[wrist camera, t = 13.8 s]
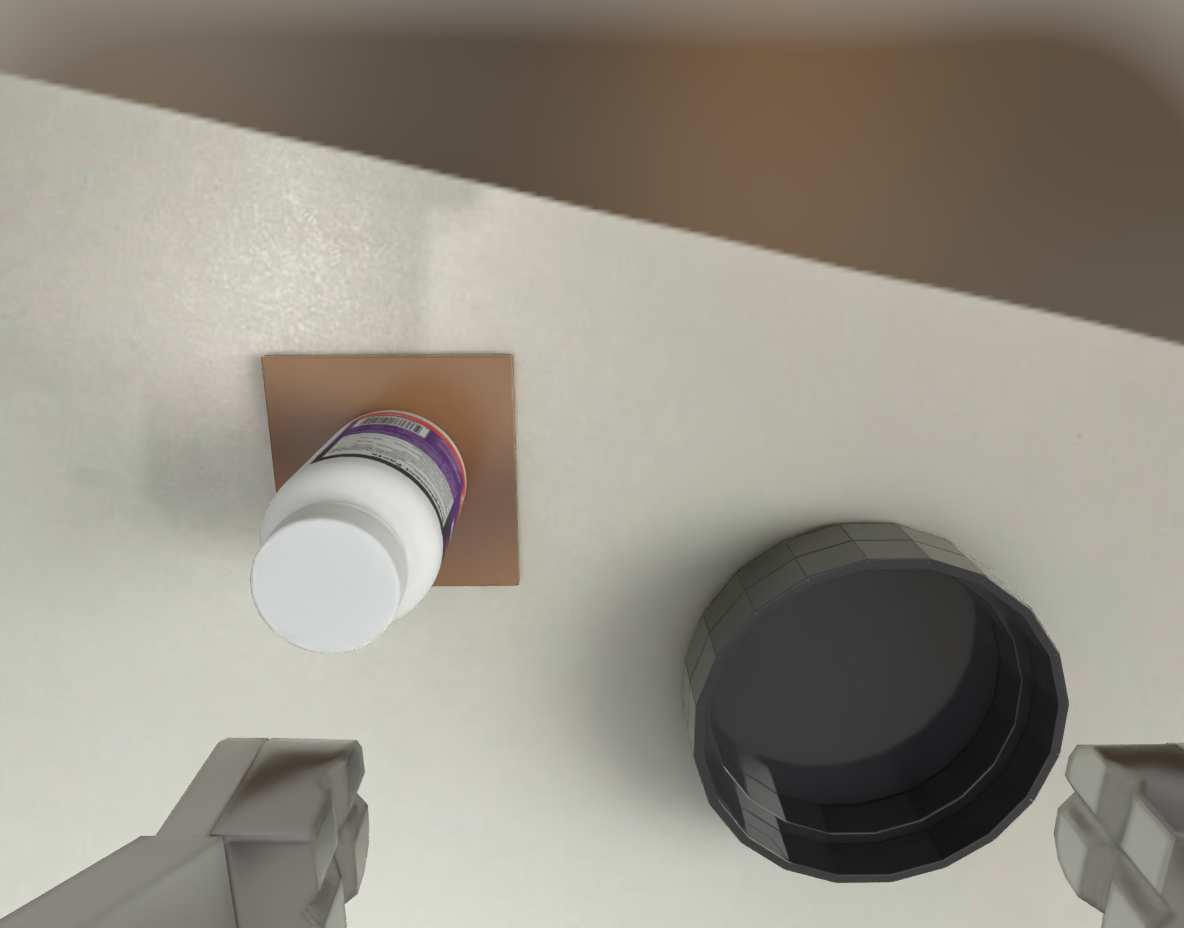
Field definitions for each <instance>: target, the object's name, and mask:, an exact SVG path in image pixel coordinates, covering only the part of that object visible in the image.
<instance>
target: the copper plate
mask: <svg viewBox="0 0 1184 928" xmlns="http://www.w3.org/2000/svg"><path fill="white" fill-rule="evenodd" d="M261 361H262V370H263V379H264V388H265V397H266V405H267V414H268V423H269V432H270V441H271V450H272V459H273V468H274V477H275V485H276V493H277V492H278V491H279V489H280V488H281V487H282V486H283V485H284V484H285V482H286V481H287V480H288V479H290V478H291V477H292V476H293V475H294V474H295V473H296V472H297V471H298V470H299V469H300V468H301V467H302V466H303V465H304V464H305V463H306V462H307V461H308V460H309V459H310V458H311V457H312V456H313V455H314V454H315V453H316V452H317V451H318V450H320V449H321V448H322V447H323V446H324V445H325V444H326V443H327V442H328V441H329V440H330V439H331V438H332V437H333V436H334V435H335V434H336V433H337V432H338V431H339V430H340V429H341V428H343V427H344V426H345V425H346V424H348V423H349V422H351V421H352V420H354V419H356V418H358V417H360V416H363V415H365V414H368V413H372V412H376V411H383V410H399V411H405V412H409V413H413V414H416V415H418V416H421V417H423V418H425V419H427V420H429V421H431V422H432V423H434V424H435V425H437V426H438V427H439V428H440V429H442V430H443V431H444V432H445V433H446V434H447V435H448V436H449V437H450V439H451V440H452V441H453V443H454V444H455V446H456V447H457V449H458V451H459V453H460V455H461V458H462V460H463V463H464V467H465V472H466V494H465V498H464V502H463V506H462V509H461V512H460V515H459V517H458V520H457V522H456V525H455V528H454V530H453V533H452V535H451V538H450V541H449V544H448V547H447V550H446V552H445V556H444V559H443V561H442V564H441V567H440V570H439V572H438V575H437V577H436V579H435V581H434V583H433V585H432V586H508V585H519V547H518V511H517V475H516V440H515V404H514V368H513V355H512V354H455V355H266V356H264V357H262V358H261Z"/></svg>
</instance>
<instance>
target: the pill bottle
mask: <svg viewBox="0 0 1184 928" xmlns="http://www.w3.org/2000/svg"><path fill="white" fill-rule="evenodd" d="M465 494H466V472H465V467H464V463H463V460H462V458H461V455H460V453H459V451H458V449H457V447H456V446H455V444H454V443H453V441H452V440H451V439H450V437H449V436H448V435H447V434H446V433H445V432H444V431H443V430H442V429H440V428H439V427H438V426H437V425H435V424H434V423H432V422H431V421H429V420H427V419H425V418H423V417H421V416H418V415H416V414H413V413H409V412H405V411H399V410H383V411H376V412H372V413H368V414H365V415H363V416H360V417H358V418H356V419H354V420H352V421H351V422H349V423H348V424H346V425H345V426H344V427H343V428H341V429H340V430H339V431H338V432H337V433H336V434H335V435H334V436H333V437H332V438H331V439H330V440H329V441H328V442H327V443H326V444H325V445H324V446H323V447H322V448H321V449H320V450H318V451H317V452H316V453H315V454H314V455H313V456H312V457H311V458H310V459H309V460H308V461H307V462H306V463H305V464H304V465H303V466H302V467H301V468H300V469H299V470H298V471H297V472H296V473H295V474H294V475H293V476H292V477H291V478H290V479H288V480H287V481H286V482H285V484H284V485H283V486H282V487H281V488H280V489H279V491H278V492H277V493H276V494H275V496H274V497H273V499H272V500H271V502H270V504H269V506H268V508H267V510H266V512H265V515H264V518H263V521H262V525H261V532H260V549H259V550H258V552H257V554H256V556H255V559H254V562H253V565H252V569H251V577H250V582H251V593H252V597H253V600H254V603H255V606H256V608H257V610H258V612H259V614H260V616H261V617H262V619H263V620H264V621H265V622H266V624H267V625H268V626H269V627H270V628H271V629H272V630H273V631H274V632H275V633H276V634H277V635H278V636H279V637H281V638H282V639H284V640H286V641H287V642H289V643H290V644H292V645H294V646H297V647H299V648H302V649H305V650H308V651H313V652H318V653H329V654H330V653H343V652H348V651H351V650H355V649H358V648H360V647H362V646H364V645H366V644H368V643H370V642H372V641H373V640H374V639H376V638H377V637H378V636H379V635H380V634H382V633H383V632H384V631H385V629H386V628H387V627H388V626H389V624H390V623H391V622H393V621H395V620H397V619H399V618H400V617H402V616H404V615H405V614H407V613H408V612H409V611H411V610H412V609H413V608H414V607H415V606H416V605H417V604H418V603H419V602H420V601H421V600H422V599H423V598H424V597H425V595H426V594H427V593H428V591H429V590H430V588H431V586H432V585H433V583H434V581H435V579H436V577H437V575H438V572H439V570H440V567H441V564H442V561H443V559H444V556H445V552H446V550H447V547H448V544H449V541H450V538H451V535H452V533H453V530H454V528H455V525H456V522H457V520H458V517H459V515H460V512H461V509H462V506H463V502H464V498H465Z"/></svg>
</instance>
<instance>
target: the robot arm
mask: <svg viewBox="0 0 1184 928" xmlns="http://www.w3.org/2000/svg"><path fill="white" fill-rule="evenodd" d="M364 773H365V769H364V761H363V753H362V747H361V745H360V744H359V742H358V741H357V740H328V739H291V738H271V739H268V738H227V739H225V740H222V741H220V742H219V743H218V744H217V745H216V747H215V748H214V749H213V751H212V752H211V754H210V755H209V757H208V758H207V760H206V761H205V763H204V764H203V766H202V767H201V769H200V770H199V772H198V773H197V775H196V776H195V778H194V779H193V781H192V782H191V784H190V785H189V787H188V788H187V790H186V791H185V793H184V794H183V796H182V797H181V798H180V800H179V801H178V803H177V804H176V806H175V807H174V809H173V810H172V812H171V813H170V815H169V816H168V818H167V819H166V821H165V822H164V824H163V825H162V827H161V828H160V830H159V831H158V833H157V834H156V836H141V837H139V838H137V839H136V840H134V841H132V842H130V843H129V844H127V845H125V846H124V847H122V848H120V849H119V850H117V851H115V852H114V853H112V854H110V855H108V856H107V857H105V858H103V859H102V860H100V861H98V862H97V863H95V864H93V865H91V866H90V867H88V868H86V869H85V870H83V871H81V872H80V873H78V874H76V875H75V876H73V877H71V878H69V879H68V880H66V881H64V882H63V883H61V884H59V885H58V886H56V887H54V888H53V889H51V890H49V891H47V892H46V893H44V894H42V895H41V896H39V897H37V898H36V899H34V900H32V901H31V902H29V903H27V904H25V905H24V906H22V907H20V908H19V909H17V910H15V911H14V912H12V913H10V914H9V915H7V916H5V917H3V918H2V919H0V928H346V927H347V925H346V915H345V904H346V903H347V902H348V901H349V900H350V899H352V898H353V897H354V896H355V895H356V894H358V891H359V887H360V884H361V881H362V878H363V874H364V870H365V864H366V858H367V852H368V845H369V815H368V805H367V804H366V803H365V801H364V800H363V799H362V798H361V797H360V796H359V795H358V794H357V792H358V789H359V786H360V784H361V781H362V778H363V776H364ZM1065 776H1066V778H1067V780H1068V781H1069V783H1070V784H1071V786H1072V788H1073V789H1074V791H1075V792H1074V793H1073V794H1072V795H1071V796H1070V797H1069V798H1068V799H1067V800H1066V801H1065V802H1064V803H1063V804H1062V805H1061V806H1060V807H1059V808H1058V811H1057V817H1056V824H1055V830H1054V837H1055V844H1056V850H1057V857H1058V861H1059V863H1060V865H1061V868H1062V870H1063V873H1064V875H1065V878H1066V879H1067V881H1068V882H1069V884H1070V885H1071V887H1072V888H1073V890H1074V892H1075V893H1076V895H1077V896H1078V897H1079V898H1081V899H1082V900H1084V901H1085V902H1087V903H1088V904H1090V905H1091V906H1093V907H1095V908H1096V909H1098V910H1099V911H1101V912H1102V913H1104V914H1103V920H1102V926H1101V928H1184V743H1166V744H1132V745H1077V746H1076V747H1075V749H1074V750H1073V751H1072V753H1071V754H1070V756H1069V759H1068V763H1067V768H1066V772H1065Z"/></svg>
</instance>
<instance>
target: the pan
mask: <svg viewBox="0 0 1184 928" xmlns="http://www.w3.org/2000/svg"><path fill="white" fill-rule="evenodd" d="M685 659H686V660H685V668H684V698H683V707H684V713H685V718H686V722H687V727H688V732H689V737H690V742H691V747H692V752H693V757H694V760H695V763H696V766H697V769H698V772H699V775H700V778H701V781H702V784H703V787H704V790H705V793H706V795H707V798H708V801H709V804H710V805H711V807H712V808H713V809H714V810H715V811H716V813H717V814H718V815H719V816H720V818H721V819H722V820H723V821H724V822H725V824H726V825H727V826H728V827H729V828H730V830H731V831H732V832H733V833H734V835H735V836H736V837H737V838H738V839H739V841H740V842H742V843H743V844H744V845H746V846H747V847H749V848H751V849H752V850H754V851H756V852H757V853H759V854H760V855H762V856H764V857H765V858H767V859H769V860H770V861H772V862H773V863H775V864H777V865H778V866H780V867H782V868H783V869H785V870H789V871H793V872H796V873H800V874H804V875H808V876H812V877H816V878H819V879H823V880H827V881H831V882H835V883H869V882H894V881H898V880H901V879H905V878H909V877H912V876H916V875H920V874H924V873H927V872H931V871H935V870H938V869H942V868H945V867H947V866H949V865H951V864H953V863H954V862H956V861H958V860H960V859H962V858H963V857H965V856H967V855H969V854H970V853H972V852H974V851H976V850H978V849H979V848H981V847H983V846H985V845H986V844H988V843H990V842H992V841H993V840H994V839H996V838H997V837H998V836H999V835H1000V834H1001V833H1002V832H1003V831H1004V830H1005V829H1006V828H1007V827H1008V826H1009V825H1010V824H1011V823H1012V822H1013V821H1014V820H1015V819H1016V818H1017V817H1018V816H1019V815H1020V814H1021V813H1022V812H1023V811H1024V810H1025V809H1026V808H1028V807H1029V806H1030V805H1031V804H1032V803H1033V801H1034V800H1035V798H1036V797H1037V795H1038V793H1039V791H1040V789H1041V788H1042V786H1043V784H1044V782H1045V780H1046V778H1047V777H1048V775H1049V773H1050V771H1051V769H1052V768H1053V766H1054V764H1055V762H1056V760H1057V759H1058V757H1059V754H1060V751H1061V745H1062V740H1063V734H1064V728H1065V723H1066V717H1067V712H1068V706H1069V701H1068V695H1067V690H1066V685H1065V680H1064V674H1063V669H1062V664H1061V658H1060V654H1059V651H1058V650H1057V648H1056V646H1055V645H1054V643H1053V642H1052V640H1051V639H1050V637H1049V635H1048V634H1047V632H1046V631H1045V629H1044V628H1043V626H1042V624H1041V623H1040V621H1039V620H1038V618H1037V617H1036V615H1035V614H1034V612H1033V610H1032V609H1031V608H1030V607H1029V606H1028V605H1027V604H1026V603H1024V602H1023V601H1022V600H1021V599H1020V598H1019V597H1018V596H1017V595H1016V594H1014V593H1013V592H1012V591H1011V590H1010V589H1009V588H1008V587H1006V586H1005V585H1004V584H1003V583H1002V582H1001V581H1000V580H999V579H998V578H997V577H995V576H994V575H993V574H992V573H991V572H990V571H989V570H988V569H986V568H985V567H984V566H982V565H981V564H980V563H978V562H977V561H976V560H974V559H973V558H972V557H970V556H969V555H967V554H966V553H965V552H963V551H962V550H961V549H959V548H958V547H957V546H955V545H954V544H953V543H951V542H950V541H947V540H946V539H944V538H940V537H937V536H934V535H931V534H927V533H924V532H921V531H918V530H914V529H911V528H908V527H905V526H902V525H898V524H839V525H835V526H832V527H828V528H825V529H822V530H819V531H815V532H812V533H809V534H805V535H802V536H799V537H796V538H792V539H789V540H786V541H783V542H782V543H780V544H779V545H777V546H776V547H774V548H773V549H771V550H770V551H768V552H767V553H765V554H763V555H762V556H760V557H759V558H757V559H756V560H754V561H753V562H751V563H750V564H748V565H747V566H745V567H744V568H742V569H741V570H739V571H738V572H737V573H736V574H735V575H734V577H733V578H732V579H731V580H730V581H729V583H728V584H727V585H726V586H725V587H724V589H723V590H722V591H721V592H720V593H719V595H718V596H717V597H716V598H715V599H714V601H713V602H712V603H711V604H710V605H709V607H708V608H707V609H706V610H705V611H704V614H703V615H702V617H701V620H700V623H699V625H698V628H697V630H696V633H695V635H694V638H693V640H692V643H691V645H690V648H689V650H688V653H687V655H686V658H685Z"/></svg>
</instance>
